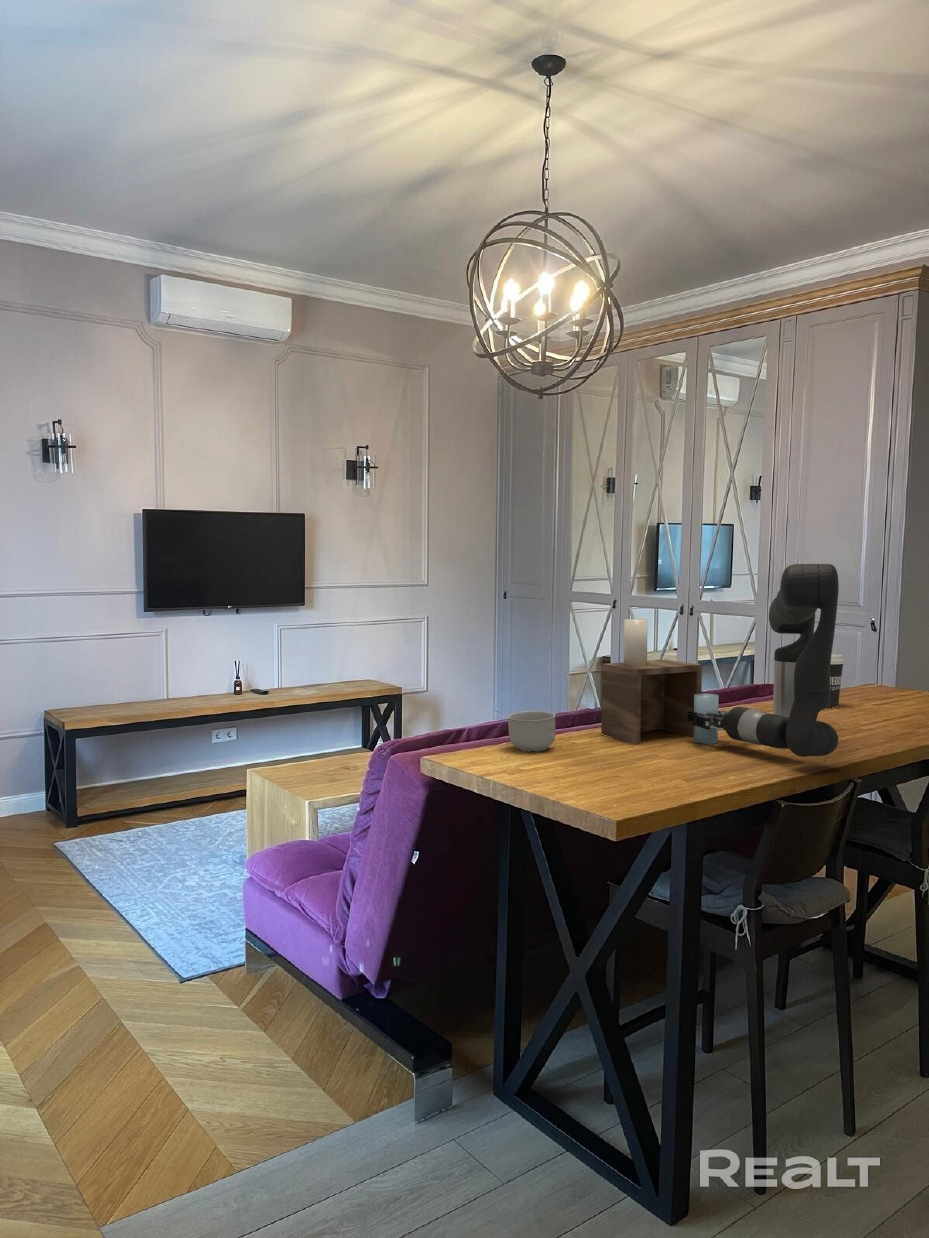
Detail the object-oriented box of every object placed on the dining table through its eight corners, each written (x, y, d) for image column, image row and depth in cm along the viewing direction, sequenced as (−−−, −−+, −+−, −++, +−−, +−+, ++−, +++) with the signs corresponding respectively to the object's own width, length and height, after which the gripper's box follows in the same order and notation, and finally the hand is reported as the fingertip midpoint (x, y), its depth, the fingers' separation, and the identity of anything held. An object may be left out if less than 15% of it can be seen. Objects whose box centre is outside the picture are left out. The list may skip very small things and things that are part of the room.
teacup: (559, 753, 200) (559, 718, 200) (510, 754, 200) (510, 718, 199) (548, 741, 214) (549, 707, 214) (503, 742, 213) (503, 708, 213)
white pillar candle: (643, 663, 220) (644, 618, 219) (649, 666, 214) (650, 620, 214) (621, 664, 220) (621, 618, 219) (626, 666, 214) (627, 620, 213)
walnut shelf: (665, 727, 231) (666, 659, 230) (700, 736, 219) (701, 664, 218) (601, 734, 221) (602, 663, 220) (635, 744, 210) (636, 669, 209)
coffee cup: (812, 708, 260) (813, 656, 259) (805, 703, 269) (806, 653, 268) (847, 709, 258) (848, 657, 257) (839, 704, 267) (840, 653, 266)
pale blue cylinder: (713, 739, 216) (714, 693, 215) (721, 743, 210) (721, 696, 210) (690, 739, 216) (691, 693, 215) (697, 744, 210) (698, 697, 209)
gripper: (775, 706, 203) (721, 696, 218) (727, 711, 196) (675, 701, 211) (774, 739, 204) (720, 727, 219) (727, 746, 197) (674, 733, 212)
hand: (698, 714), depth 215 cm, fingers closed on pale blue cylinder, 5 cm apart
